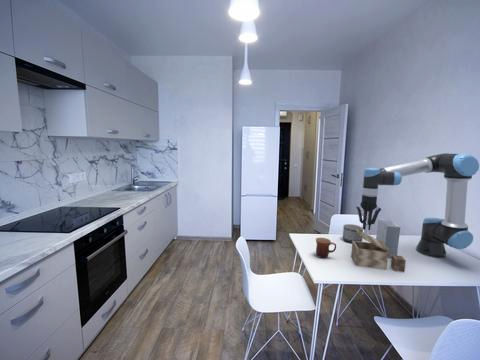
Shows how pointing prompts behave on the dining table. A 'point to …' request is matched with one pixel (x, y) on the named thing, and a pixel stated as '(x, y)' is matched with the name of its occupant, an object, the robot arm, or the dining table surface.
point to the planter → (351, 233)
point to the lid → (372, 240)
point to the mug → (323, 247)
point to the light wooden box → (369, 255)
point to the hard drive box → (388, 235)
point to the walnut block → (398, 263)
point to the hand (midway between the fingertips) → (365, 234)
